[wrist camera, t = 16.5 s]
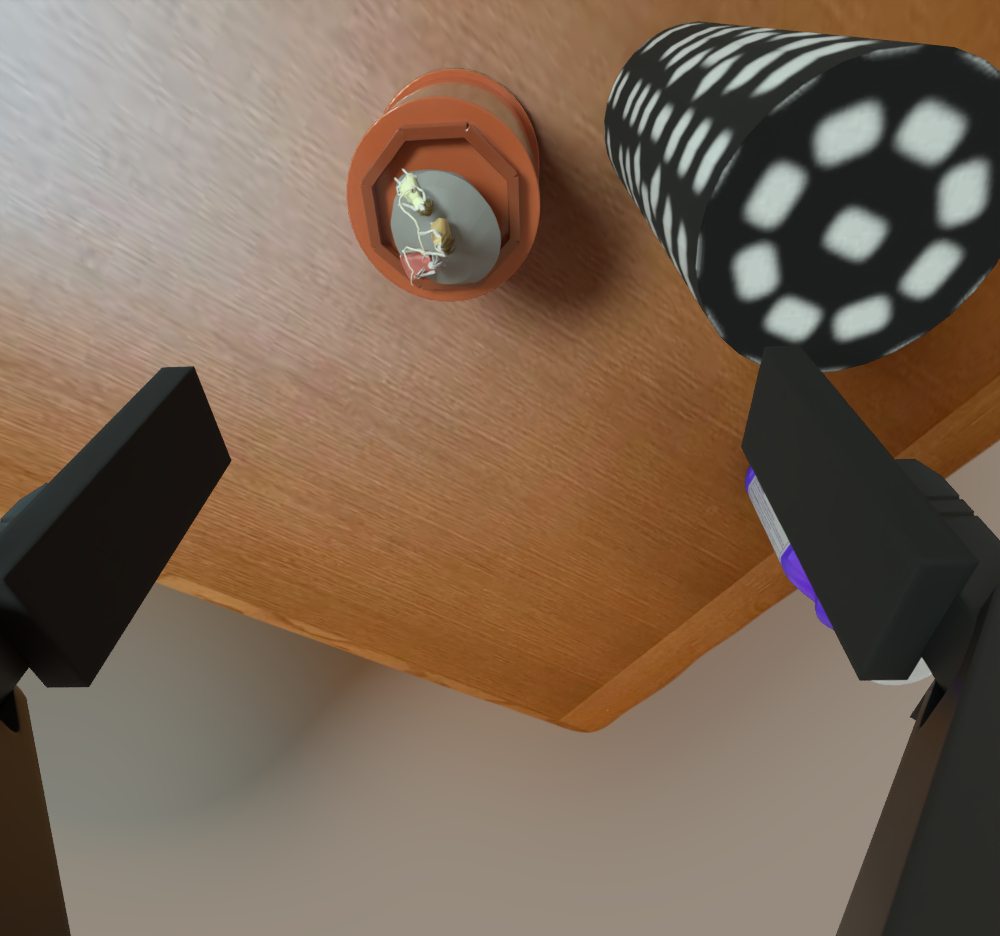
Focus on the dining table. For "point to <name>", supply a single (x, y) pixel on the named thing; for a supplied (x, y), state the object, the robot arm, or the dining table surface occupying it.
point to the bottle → (795, 568)
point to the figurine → (443, 228)
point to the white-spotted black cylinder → (813, 181)
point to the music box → (449, 170)
